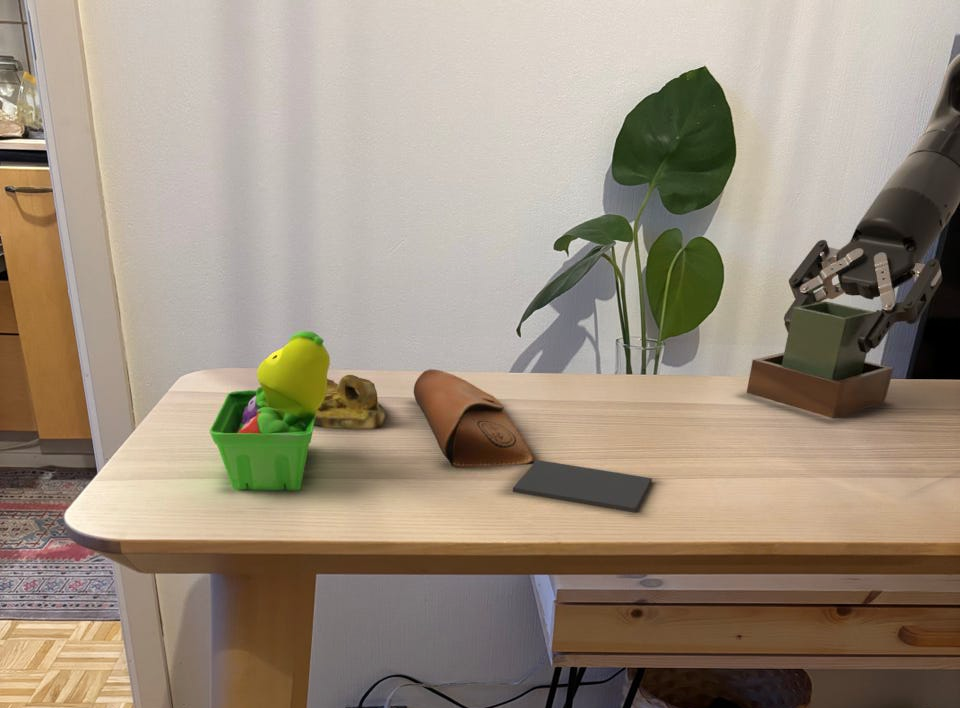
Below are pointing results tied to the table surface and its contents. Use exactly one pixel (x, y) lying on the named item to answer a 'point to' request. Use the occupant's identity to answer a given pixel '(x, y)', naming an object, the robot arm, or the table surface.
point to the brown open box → (818, 387)
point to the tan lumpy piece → (350, 405)
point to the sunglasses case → (469, 422)
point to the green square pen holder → (826, 340)
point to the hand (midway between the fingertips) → (824, 338)
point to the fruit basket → (274, 417)
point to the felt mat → (584, 485)
